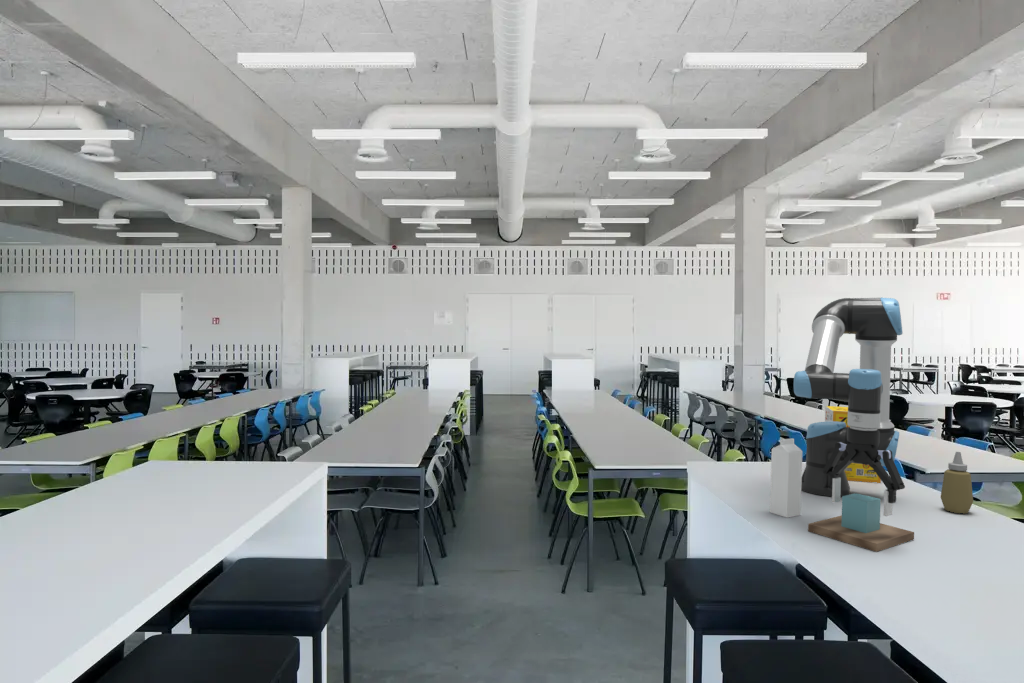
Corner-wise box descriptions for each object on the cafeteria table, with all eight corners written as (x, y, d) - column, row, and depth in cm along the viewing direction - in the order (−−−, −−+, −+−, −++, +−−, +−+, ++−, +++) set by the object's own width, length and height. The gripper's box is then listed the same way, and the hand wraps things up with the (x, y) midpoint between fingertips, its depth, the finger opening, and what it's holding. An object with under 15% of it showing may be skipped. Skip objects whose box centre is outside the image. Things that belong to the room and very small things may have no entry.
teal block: (841, 526, 168) (842, 496, 168) (855, 522, 172) (855, 493, 171) (866, 533, 163) (867, 502, 162) (879, 529, 166) (880, 498, 166)
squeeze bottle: (978, 516, 187) (980, 455, 186) (947, 514, 188) (949, 453, 188) (964, 508, 195) (966, 450, 194) (935, 506, 196) (937, 448, 196)
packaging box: (823, 469, 246) (825, 405, 246) (870, 473, 241) (872, 408, 241) (830, 479, 231) (832, 410, 230) (880, 483, 226) (882, 413, 225)
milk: (769, 512, 187) (771, 438, 186) (783, 510, 190) (784, 436, 189) (787, 518, 181) (788, 441, 181) (801, 515, 184) (802, 439, 184)
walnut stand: (808, 531, 170) (808, 501, 170) (845, 521, 179) (846, 493, 179) (876, 551, 155) (877, 519, 154) (913, 539, 164) (914, 509, 164)
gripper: (810, 422, 175) (808, 498, 176) (906, 437, 154) (903, 523, 155) (826, 420, 179) (824, 494, 180) (921, 434, 158) (919, 518, 159)
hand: (861, 508), depth 167 cm, fingers open, 13 cm apart
